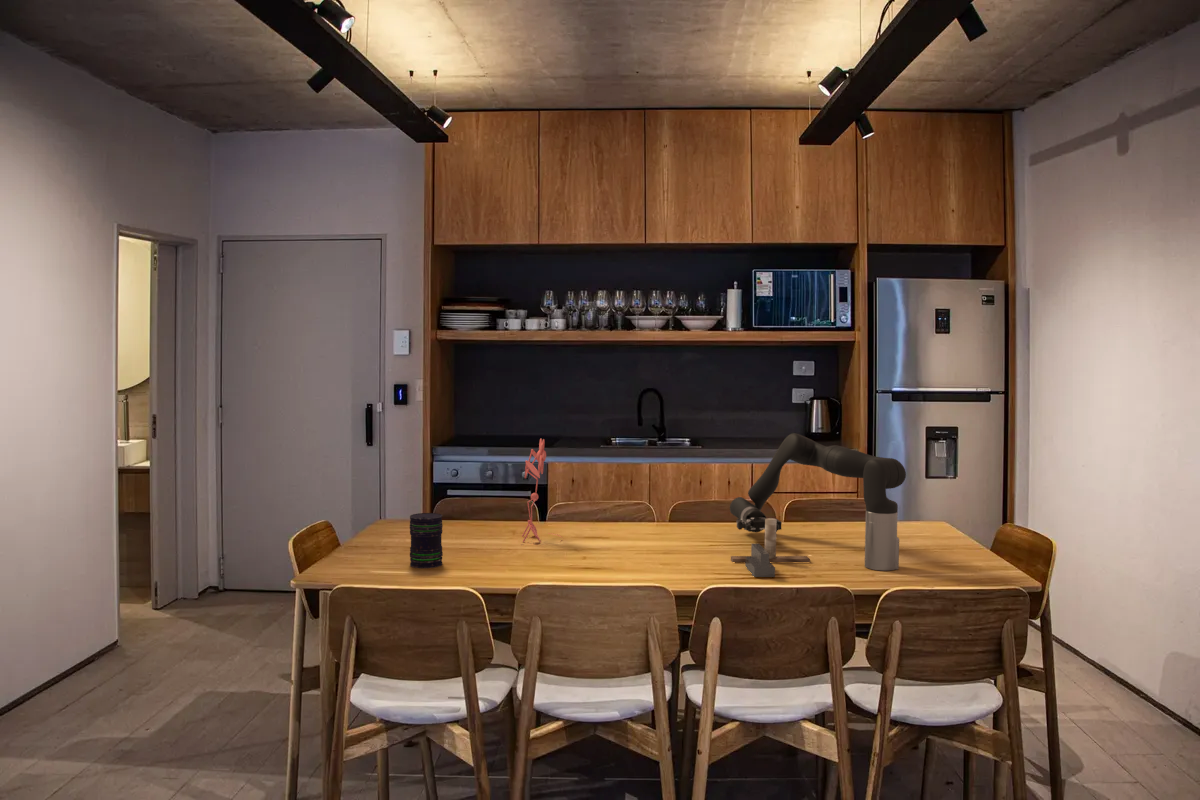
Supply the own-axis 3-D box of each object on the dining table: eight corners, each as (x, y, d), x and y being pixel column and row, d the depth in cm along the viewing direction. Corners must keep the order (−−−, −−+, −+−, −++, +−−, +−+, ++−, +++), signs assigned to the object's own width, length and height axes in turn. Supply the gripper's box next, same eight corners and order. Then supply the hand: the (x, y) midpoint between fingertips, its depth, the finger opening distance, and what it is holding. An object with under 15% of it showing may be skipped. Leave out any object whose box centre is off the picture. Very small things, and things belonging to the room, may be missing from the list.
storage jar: (414, 560, 285) (413, 512, 284) (445, 560, 285) (445, 513, 284) (406, 568, 275) (406, 518, 274) (438, 568, 275) (438, 519, 274)
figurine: (520, 547, 304) (523, 441, 303) (519, 532, 330) (521, 434, 328) (567, 547, 306) (570, 442, 304) (561, 532, 332) (564, 435, 330)
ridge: (764, 566, 281) (765, 543, 280) (774, 577, 267) (775, 553, 266) (745, 566, 281) (745, 543, 280) (754, 577, 267) (754, 553, 266)
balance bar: (806, 560, 290) (807, 518, 289) (809, 563, 286) (810, 520, 285) (730, 560, 289) (731, 518, 288) (732, 563, 285) (733, 520, 284)
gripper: (732, 508, 314) (741, 517, 298) (774, 508, 314) (785, 517, 298) (732, 529, 314) (741, 540, 298) (773, 530, 315) (784, 540, 298)
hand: (763, 528), depth 298 cm, fingers open, 8 cm apart
